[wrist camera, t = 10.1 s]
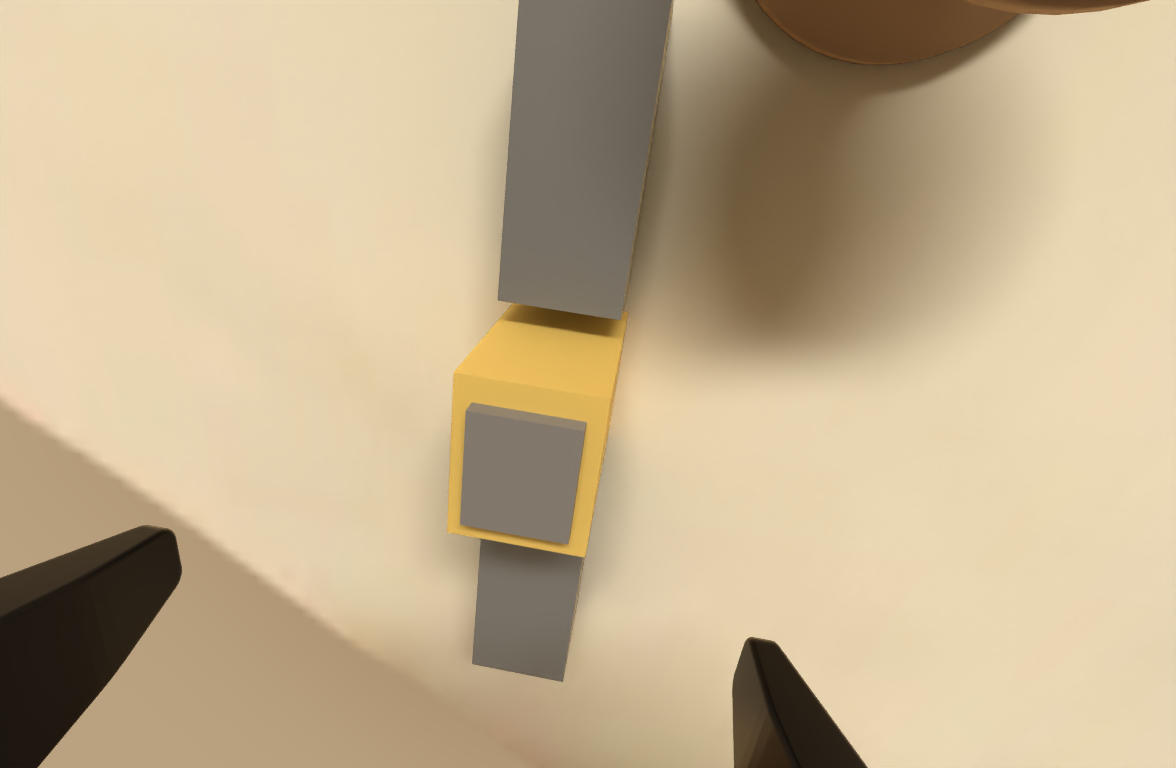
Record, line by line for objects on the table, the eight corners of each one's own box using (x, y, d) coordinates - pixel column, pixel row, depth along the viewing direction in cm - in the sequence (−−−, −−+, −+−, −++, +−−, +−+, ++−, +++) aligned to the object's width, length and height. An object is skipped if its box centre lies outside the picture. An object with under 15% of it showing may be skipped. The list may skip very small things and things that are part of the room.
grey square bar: (575, 612, 22) (562, 681, 19) (496, 597, 22) (472, 663, 19) (672, 11, 14) (674, -16, 11) (548, -6, 14) (521, -36, 12)
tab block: (608, 432, 19) (582, 569, 13) (509, 415, 19) (441, 543, 13) (628, 312, 17) (608, 407, 11) (519, 295, 17) (447, 379, 12)
